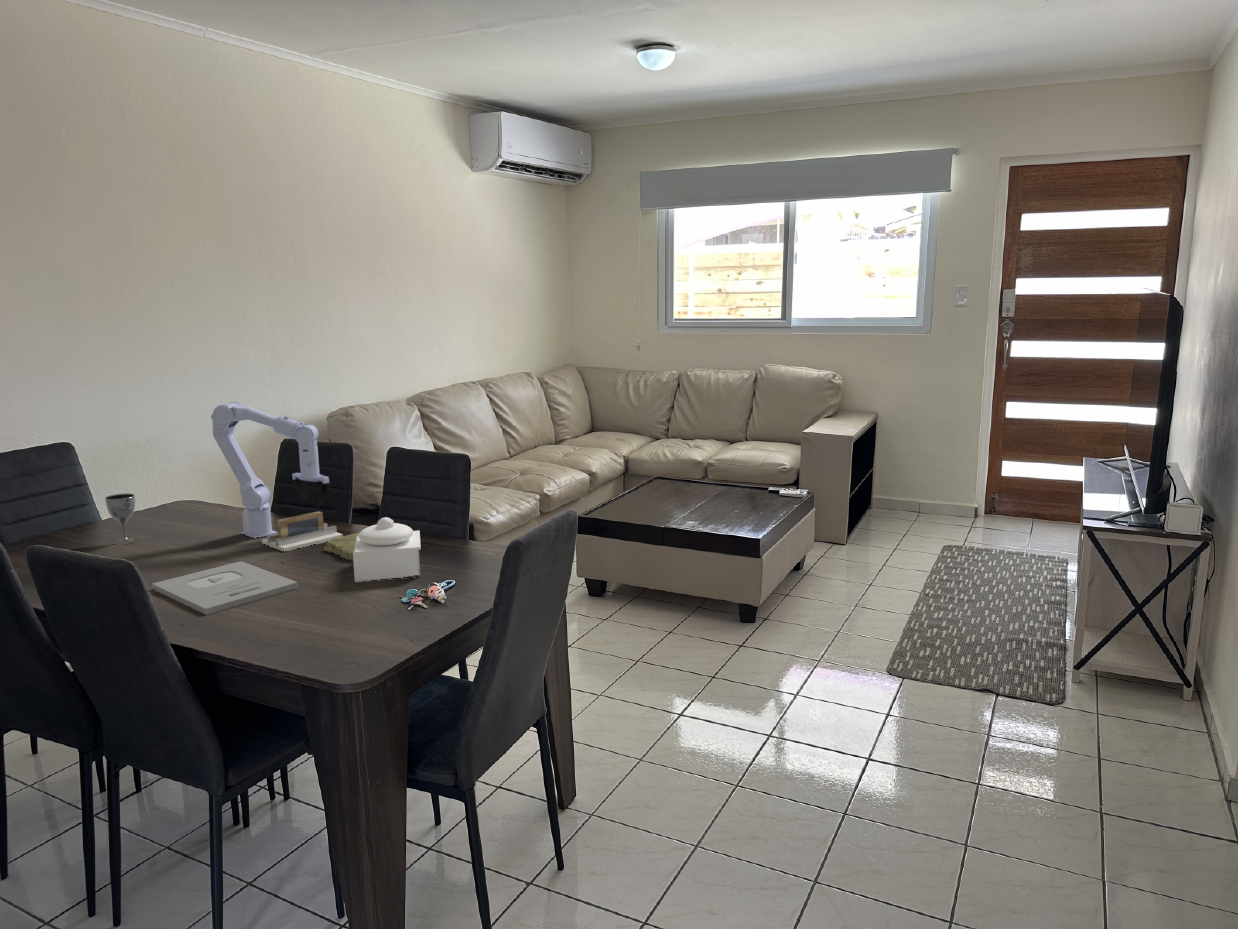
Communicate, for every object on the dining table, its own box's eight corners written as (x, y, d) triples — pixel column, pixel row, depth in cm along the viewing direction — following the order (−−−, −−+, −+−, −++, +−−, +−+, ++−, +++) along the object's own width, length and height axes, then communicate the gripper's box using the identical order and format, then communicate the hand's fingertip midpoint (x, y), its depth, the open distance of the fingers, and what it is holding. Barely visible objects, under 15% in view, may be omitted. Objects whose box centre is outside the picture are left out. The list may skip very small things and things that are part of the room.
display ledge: (262, 543, 267) (261, 534, 266) (319, 530, 281) (319, 521, 281) (284, 552, 258) (283, 542, 257) (343, 537, 273) (342, 528, 272)
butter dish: (358, 563, 247) (354, 511, 244) (421, 559, 251) (418, 507, 248) (354, 583, 230) (350, 526, 227) (422, 577, 234) (419, 522, 231)
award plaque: (206, 617, 207) (205, 608, 207) (152, 591, 225) (151, 583, 225) (298, 589, 226) (297, 582, 225) (241, 568, 244) (241, 561, 244)
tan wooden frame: (279, 541, 265) (277, 519, 263) (319, 532, 275) (318, 511, 274) (283, 542, 263) (281, 521, 262) (324, 533, 274) (322, 512, 272)
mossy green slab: (370, 539, 273) (369, 528, 272) (410, 550, 261) (409, 539, 260) (319, 553, 258) (318, 541, 258) (358, 565, 246) (358, 553, 246)
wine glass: (141, 542, 268) (135, 497, 265) (112, 547, 264) (106, 500, 261) (138, 537, 275) (133, 492, 272) (110, 541, 270) (104, 495, 267)
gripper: (283, 462, 273) (287, 502, 276) (315, 466, 266) (318, 507, 269) (300, 458, 279) (304, 498, 282) (332, 462, 273) (335, 503, 275)
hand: (312, 502), depth 276 cm, fingers open, 7 cm apart
